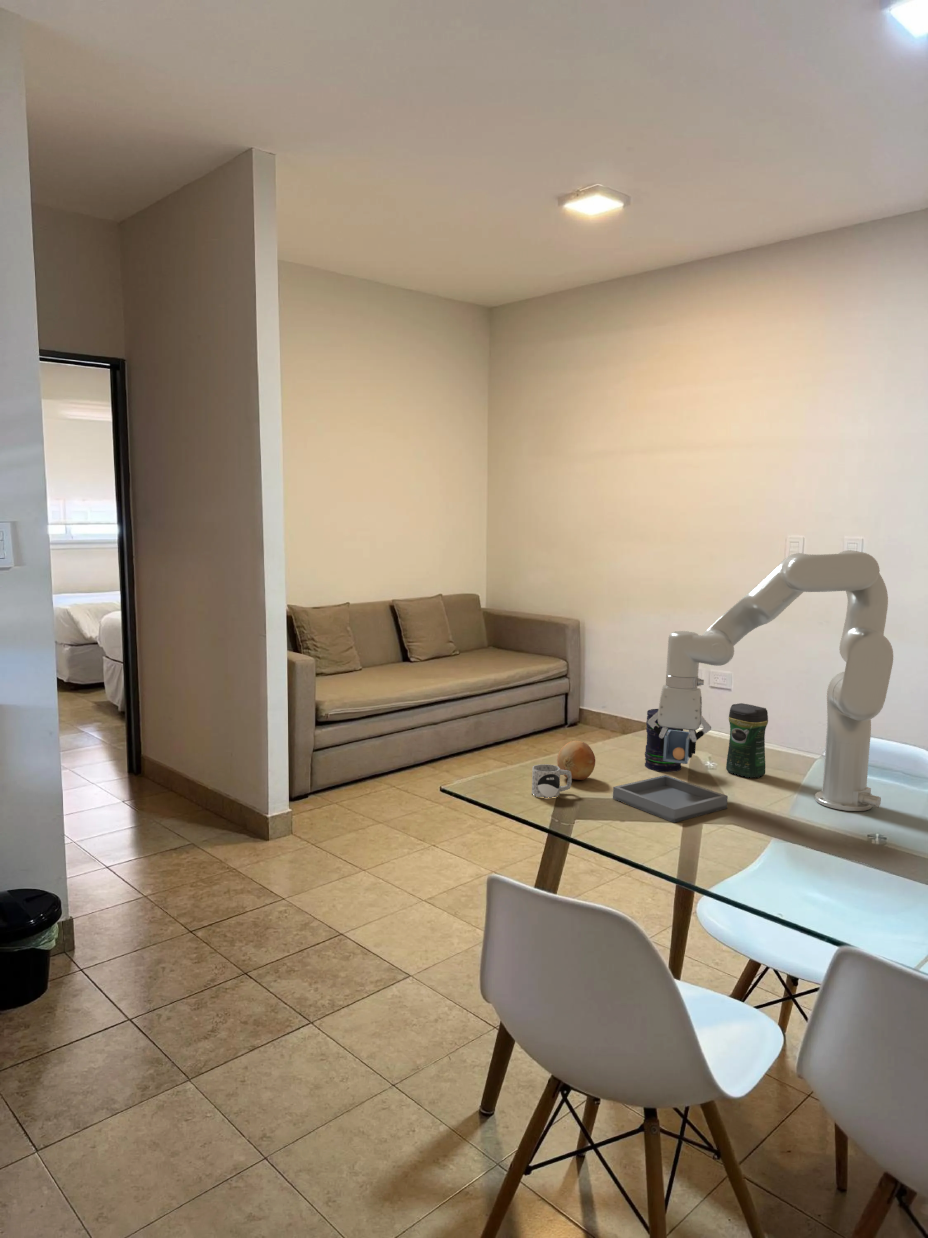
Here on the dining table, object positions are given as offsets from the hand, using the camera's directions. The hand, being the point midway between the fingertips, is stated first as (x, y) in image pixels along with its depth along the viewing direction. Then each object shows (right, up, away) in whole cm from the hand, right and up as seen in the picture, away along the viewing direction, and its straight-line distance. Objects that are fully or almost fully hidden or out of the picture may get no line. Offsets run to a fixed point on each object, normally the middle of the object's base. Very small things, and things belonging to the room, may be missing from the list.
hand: (677, 754), depth 214 cm
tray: (-4, -10, -9) cm, 14 cm away
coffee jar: (+22, -8, +17) cm, 29 cm away
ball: (0, +1, -3) cm, 3 cm away
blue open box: (0, -1, 0) cm, 1 cm away
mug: (-31, -9, -3) cm, 33 cm away
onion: (-24, -8, +9) cm, 27 cm away
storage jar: (+1, -7, +22) cm, 23 cm away
